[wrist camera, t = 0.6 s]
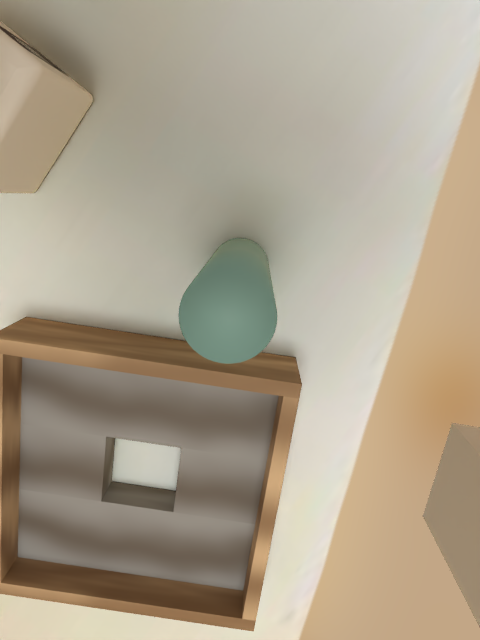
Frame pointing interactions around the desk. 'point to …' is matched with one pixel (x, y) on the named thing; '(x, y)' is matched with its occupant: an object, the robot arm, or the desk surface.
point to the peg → (230, 304)
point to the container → (33, 113)
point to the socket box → (132, 500)
